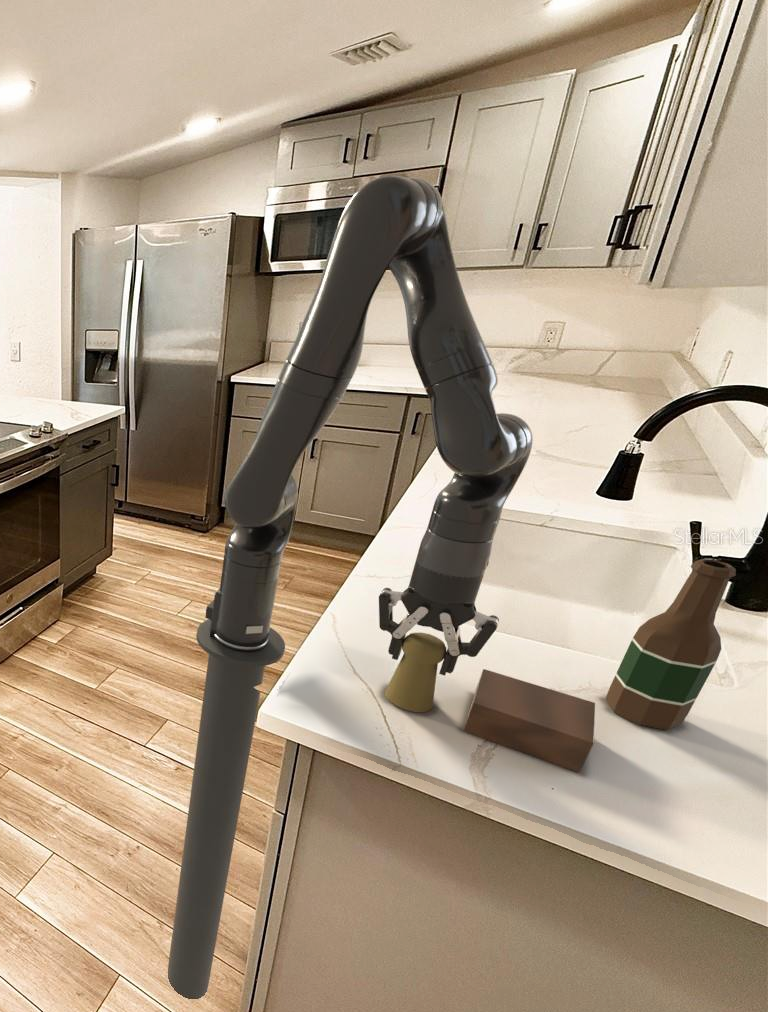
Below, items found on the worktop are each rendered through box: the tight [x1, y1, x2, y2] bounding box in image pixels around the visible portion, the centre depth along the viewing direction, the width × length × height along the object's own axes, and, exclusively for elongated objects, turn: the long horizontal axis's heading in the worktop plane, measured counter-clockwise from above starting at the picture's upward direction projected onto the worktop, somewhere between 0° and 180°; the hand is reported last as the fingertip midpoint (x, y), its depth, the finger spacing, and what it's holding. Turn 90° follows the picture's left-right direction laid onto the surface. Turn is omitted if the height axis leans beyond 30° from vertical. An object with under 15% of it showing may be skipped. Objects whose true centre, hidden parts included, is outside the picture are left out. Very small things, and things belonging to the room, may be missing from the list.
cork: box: [384, 632, 447, 713], centre depth 90 cm, size 6×6×11 cm
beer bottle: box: [605, 558, 737, 731], centre depth 83 cm, size 8×8×24 cm
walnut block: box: [463, 668, 596, 774], centre depth 85 cm, size 12×10×5 cm
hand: (419, 664), depth 90 cm, fingers closed on cork, 5 cm apart
